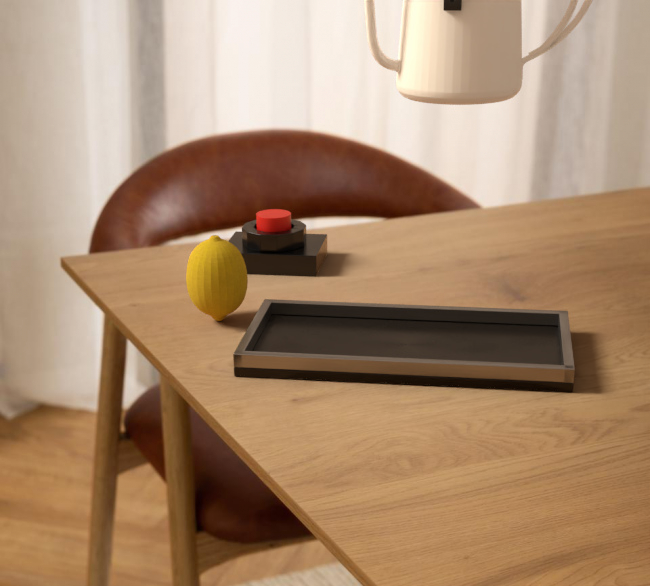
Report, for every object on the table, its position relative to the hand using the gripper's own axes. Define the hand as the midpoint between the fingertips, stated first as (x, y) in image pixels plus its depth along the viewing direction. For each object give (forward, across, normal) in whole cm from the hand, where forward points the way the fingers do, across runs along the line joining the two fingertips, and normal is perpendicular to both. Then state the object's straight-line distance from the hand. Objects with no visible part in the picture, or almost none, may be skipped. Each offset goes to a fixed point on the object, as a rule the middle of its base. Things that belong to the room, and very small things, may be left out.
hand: (454, 45), depth 102 cm
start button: (+20, -10, -18) cm, 29 cm away
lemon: (+23, +8, -20) cm, 32 cm away
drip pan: (+23, +13, -2) cm, 27 cm away
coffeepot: (+4, +1, 0) cm, 4 cm away
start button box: (+23, -10, -18) cm, 31 cm away
